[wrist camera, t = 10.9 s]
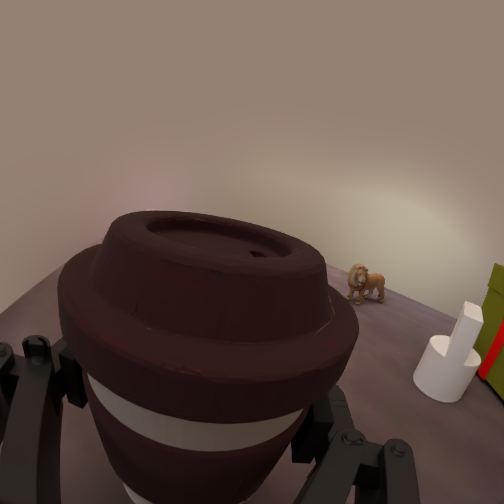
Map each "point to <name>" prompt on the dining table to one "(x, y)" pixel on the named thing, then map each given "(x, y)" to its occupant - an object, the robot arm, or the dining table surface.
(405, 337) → the dining table surface
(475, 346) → the gift box
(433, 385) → the cylinder with rectangular tab
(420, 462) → the dining table surface
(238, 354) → the coffee cup
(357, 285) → the lion figurine
